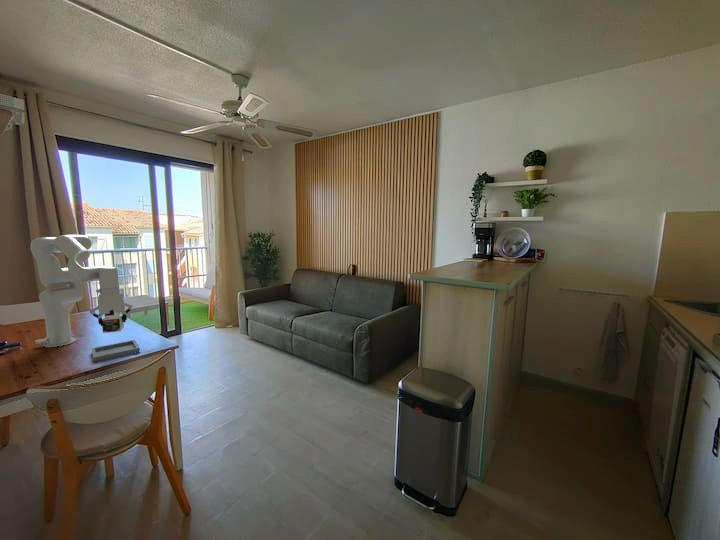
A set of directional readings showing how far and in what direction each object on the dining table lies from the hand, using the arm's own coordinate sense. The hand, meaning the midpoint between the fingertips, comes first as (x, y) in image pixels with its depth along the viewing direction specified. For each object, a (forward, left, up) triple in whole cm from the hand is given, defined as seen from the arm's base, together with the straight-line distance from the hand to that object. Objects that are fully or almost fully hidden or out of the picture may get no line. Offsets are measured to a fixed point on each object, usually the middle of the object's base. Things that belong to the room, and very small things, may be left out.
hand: (113, 323), depth 150 cm
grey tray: (0, 0, -16) cm, 16 cm away
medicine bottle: (0, 0, -4) cm, 4 cm away
